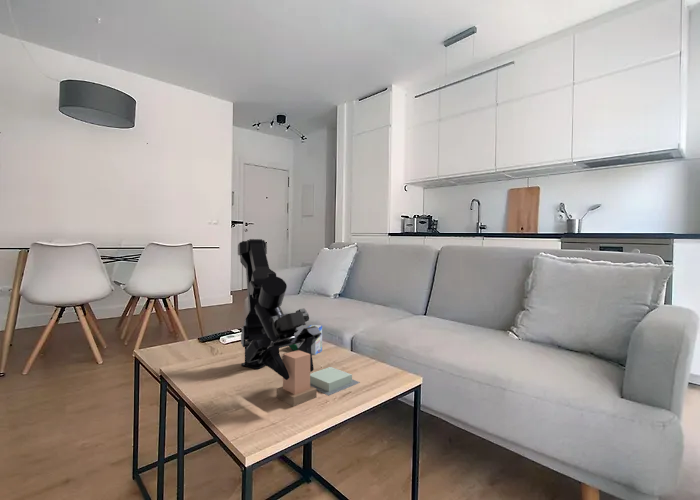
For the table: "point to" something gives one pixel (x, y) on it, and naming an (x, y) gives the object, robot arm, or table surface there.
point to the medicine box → (317, 342)
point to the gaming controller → (293, 347)
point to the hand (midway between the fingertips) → (300, 374)
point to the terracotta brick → (297, 371)
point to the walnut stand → (296, 396)
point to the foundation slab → (330, 378)
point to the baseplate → (335, 389)
